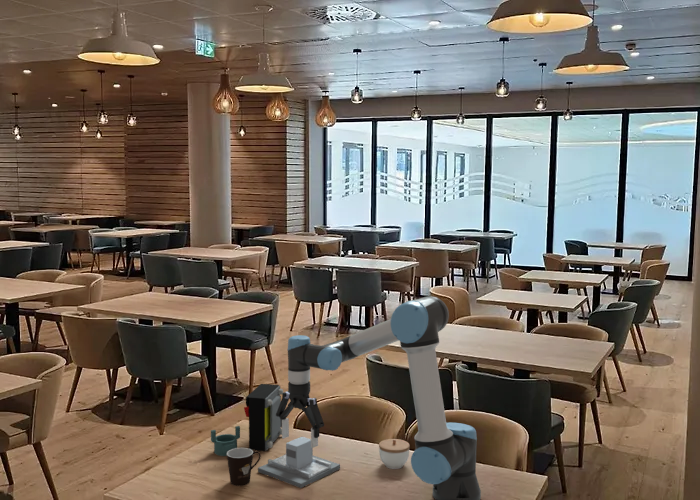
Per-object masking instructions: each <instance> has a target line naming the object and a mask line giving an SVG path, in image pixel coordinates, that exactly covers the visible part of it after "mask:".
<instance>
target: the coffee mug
mask: <svg viewBox="0 0 700 500" xmlns="http://www.w3.org/2000/svg"><path fill="white" fill-rule="evenodd" d="M255 454H257V455H258V458H257V460H256V462H254V464H253V457H254V455H255ZM261 458H262V456H261V453H260V451H256V450H255V451H254V450H251V449H249V447H248V448H247V447H237V448H235V449H231V450H229V451H228V452H227V456H226V459H227V467H228V473H229V474H228V475H229V480H230V484H231V485H232V486H235V487H243V486H247V485H249V484H250V483H251V475H252V470H253V469H254V468H255V467H256V466H257V464H258V463H259V462H260V460H261Z"/></svg>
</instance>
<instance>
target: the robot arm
mask: <svg viewBox="0 0 700 500" xmlns="http://www.w3.org/2000/svg"><path fill="white" fill-rule="evenodd" d="M449 313H450V311H449V309H448V306H447V305H446V303H445V302H444V301H443V300H442V299H440V298H439V297H437V296H431V295H429V296H424V297H420V298H417V299H412V300H408V301H406V302H405V301H404V302H403V303H401V304H399V305H398V306H397V307H396V308H395V309H394V311H393V312H392V314H391V317H390V319H387V320H385V321H383V322H380V323H377V324H375V325H373V326H370V327H368V328H366V329H363V330H361V331H358V332H356V333H354V334H351V335H349V336H346V337H344V338H341V339H339V340H336V341H333V342H332V341H331V342H330V343H326V344H323V345H320V344H319V345H318V344H313V343H311V338H310V337H309V336H307V335H298V334H297V335H293V336H290V337H289V338H288V342H287V365H288V366H287V381H288V383H287V384H288V385H287V387H288V388H287V389H288V390H287V391H283V394H282V396H281V403H280V405H279V408H278V410H277V413H276V416H277V417H280V419H281V429H282V435H281V439H286V438H289V437H290V424H289V423H290V421H289V419H290V418H289V414H290V413H291V412H292V411H293V409H299V410H301V411H302V412H303V413H305V416H306V417H307V419H308V421H309V424H311V428H310V439H311V447H312V448H315V447H318V446H319V438H320V428H323V427H325V422H324V419H323V417H322V414H321V411H320V408H319V406H318V399H317V397H313V398H312V397H310V393H311V381H310V380H311V368H314V369H320V370H324V371H332V372H333V371H337V370H338V368H339V367H340V366H341V365H342V363H344V362H348V361H350V360H353V359H356V358H358V357H360V356H362V355H365V354H367V353H370V352H373V351H375V350H378V349H380V348H384V347H385V346H389V345H391V344H393V343H396V342H398V341H399V344H400V348H401V349H402V350H403V351H405V353H406V355H407V364H408V371H409V375H410V376H409V377H410V383H411V390H412V396H413V403H414V409H415V417H416V423H417V430H418V431H417V433H416V434H415V435H414V445H415V449H414V451H413V453H412V455H411V457H410V465H411V468H412V471H413V472H414V474H415V475H416V477H418V478H419V479H420V480H421V481H422V482H424V483H426V484H429V485H433V486H432V497H433V498H434V499H435V500H481V498H482V497H481V496H482V492H481V491H482V490H481V488H480V485H479V480H478V477H477V474H476V470H477V443H478V442H477V440H478V438H477V431H476V429H475V427H473V426H472V425H469V424H465V423H460V422H447V420H446V411H445V408H444V407H445V405H444V399H443V392H442V385H441V379H440V372H439V366H438V358H437V352H436V348H437V346H438V345H439V344H440V338H439V332H441V331H442V330H443V329H444V328H445V327H446V326H447V324H448V322H449V320H450V314H449ZM289 400H290V401H289Z"/></svg>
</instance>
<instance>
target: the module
mask: <svg viewBox="0 0 700 500" xmlns="http://www.w3.org/2000/svg"><path fill="white" fill-rule="evenodd" d="M313 453H314V450H313V448H312V447H311V438H309V437H305V436H300V437H298V438H295V439H292V440H290V441H289V442H288V441H287V442H286V443H285V454H286V465H289V466H291V467H294V468H297V469H299V468H301V467H303V466H305V465H308V464H310V463H312V462H313V456H314V455H313Z"/></svg>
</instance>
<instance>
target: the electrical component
mask: <svg viewBox="0 0 700 500" xmlns="http://www.w3.org/2000/svg"><path fill="white" fill-rule="evenodd" d="M283 393H284V389H283V388H281V385H280V384H270V383H260V384H259V385H258V386H257V387H255V388H254V389H253V390H252V391H251V392H250V393H249V394H248V395H247V396H246V397H245V405H246V407H245V406H244V407H243V409H244V412H245V416H246V418H248V449H251V450H252V451H256V450H257V452H266V451H268V449H272V448H273V445H274V443H273V442H275V441H276V440H277V439H278V438H279V437H280V436H282V428H281V419H280V417H277V416H276V413H277V410H278V408H279V405H280V403H281V400H282V396H281V395H282V394H283Z"/></svg>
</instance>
